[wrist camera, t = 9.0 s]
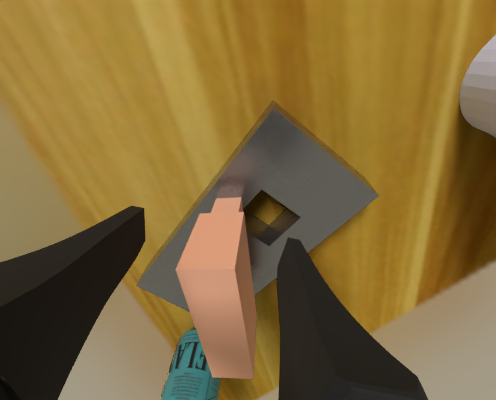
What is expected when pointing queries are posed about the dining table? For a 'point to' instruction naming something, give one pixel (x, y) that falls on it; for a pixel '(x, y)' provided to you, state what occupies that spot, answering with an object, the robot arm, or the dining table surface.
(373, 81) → the dining table surface
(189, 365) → the beverage bottle
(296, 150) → the rail
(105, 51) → the dining table surface
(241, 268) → the clip
